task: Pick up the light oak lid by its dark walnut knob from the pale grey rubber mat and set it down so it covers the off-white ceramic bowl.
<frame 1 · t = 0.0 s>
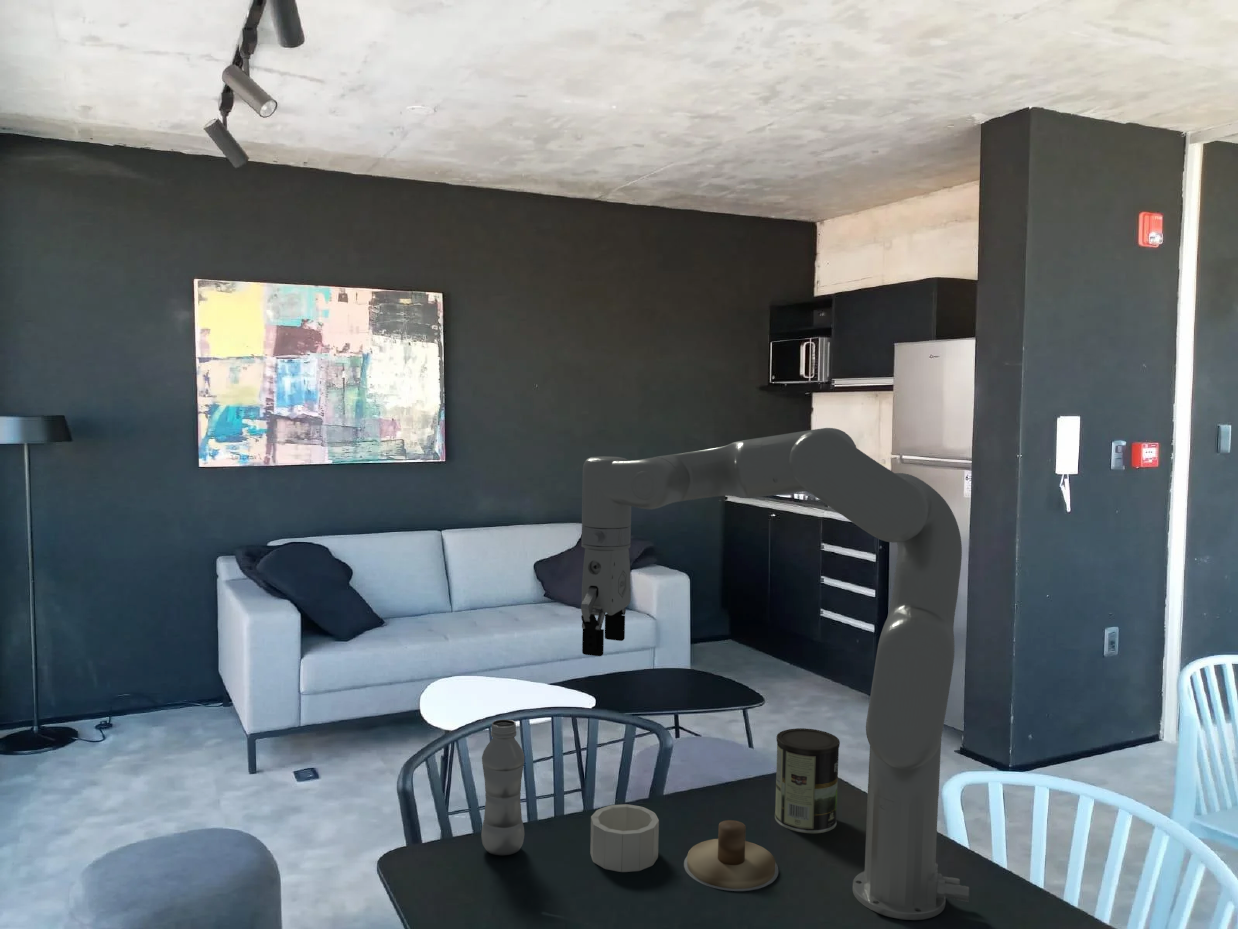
hand: (604, 647, 148), 31 cm above the table, tool pointing down, fingers open, 9 cm apart
lid: (730, 866, 143), resting on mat
plastic bottle: (502, 852, 147), on the table
coffee can: (805, 822, 159), on the table
bowl: (624, 857, 146), on the table
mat: (730, 868, 143), on the table
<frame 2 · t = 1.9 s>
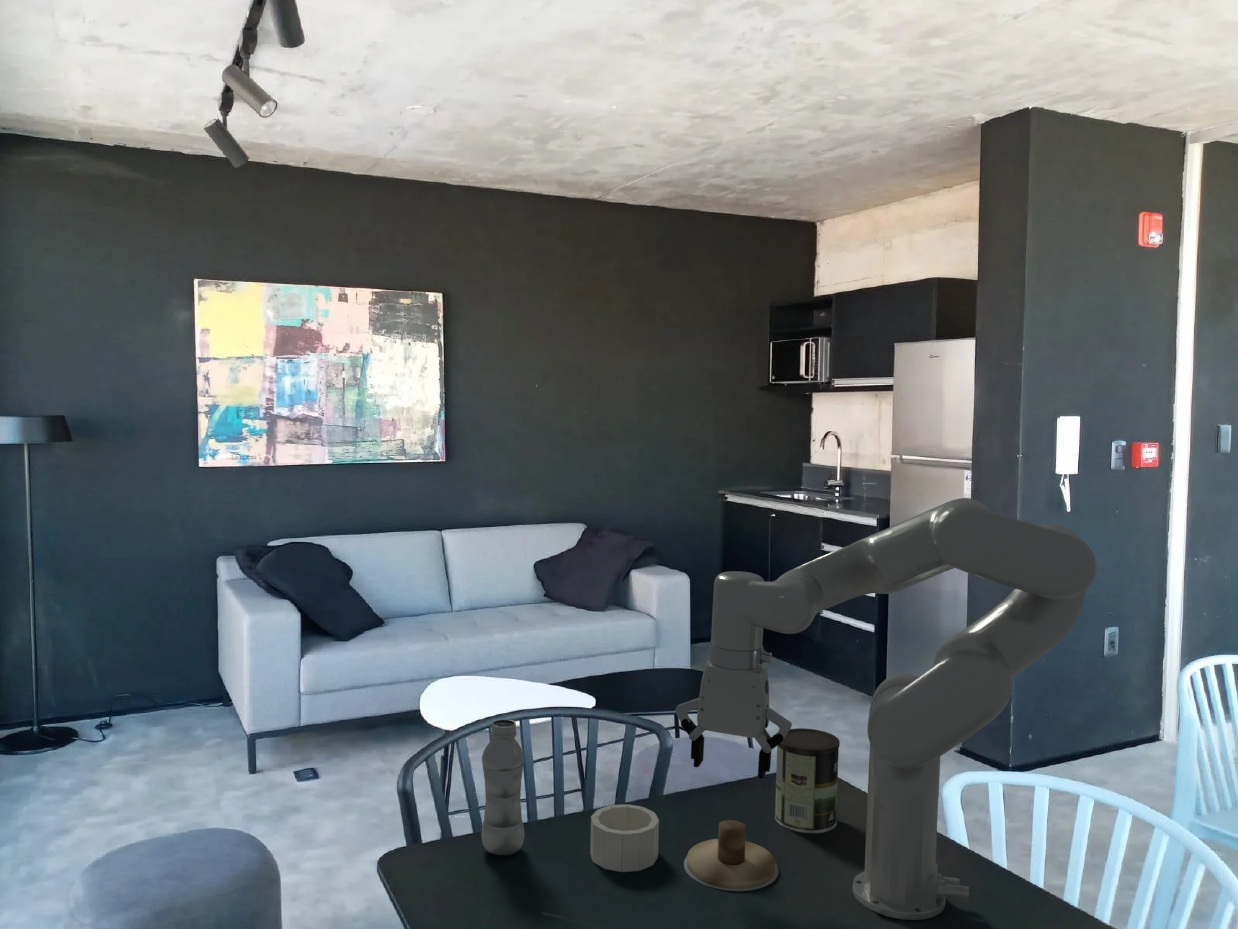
hand: (729, 769, 142), 15 cm above the table, tool pointing down, fingers open, 9 cm apart
nothing on the table moved.
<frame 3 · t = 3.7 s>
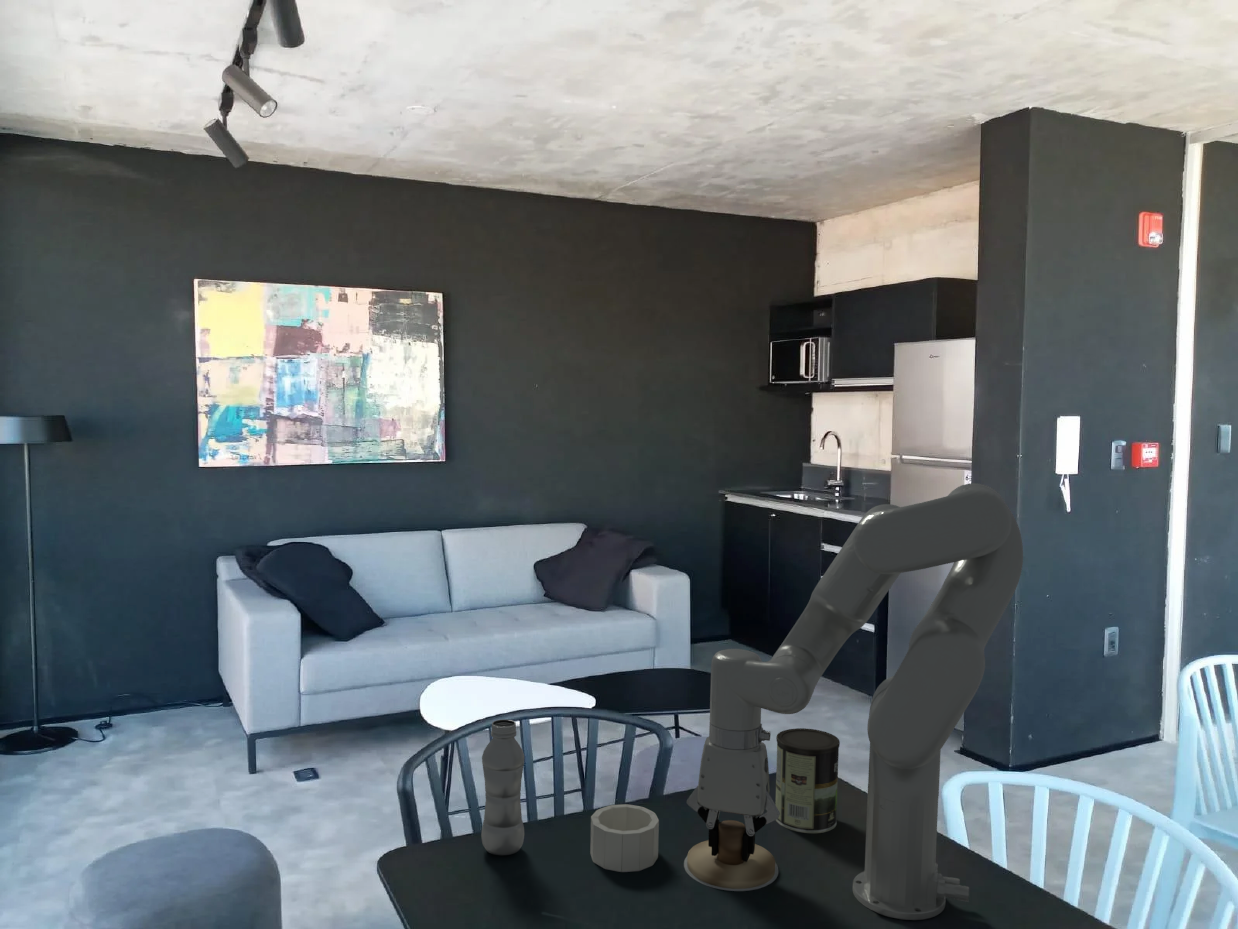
hand: (731, 853, 142), 2 cm above the table, tool pointing down, fingers closed on lid, 4 cm apart
lid: (730, 866, 143), resting on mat, touching gripper
everything else where it was.
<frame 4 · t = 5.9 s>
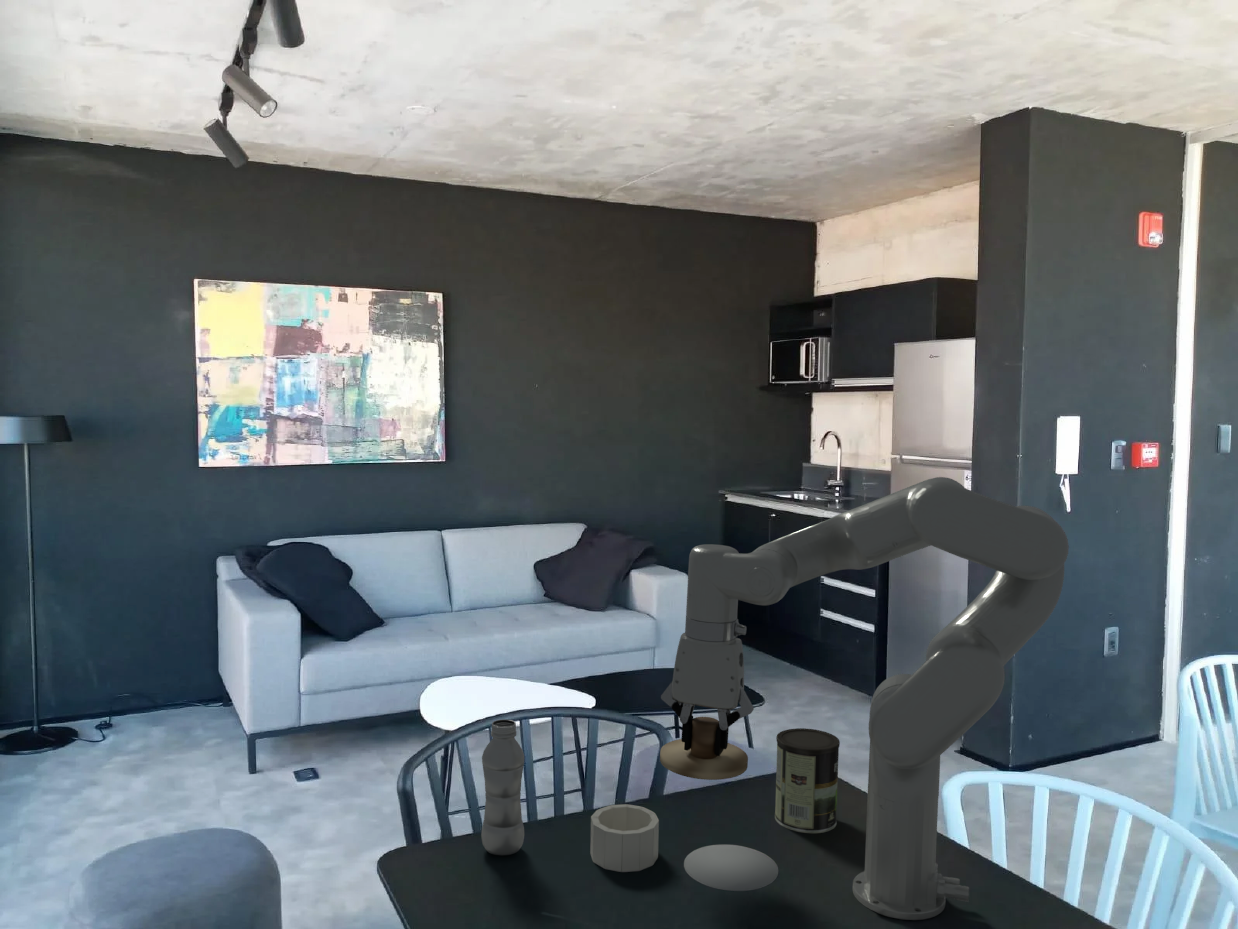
hand: (704, 748, 142), 18 cm above the table, tool pointing down, fingers closed on lid, 4 cm apart
lid: (703, 762, 142), point 16 cm above the table, touching gripper
everything else where it was.
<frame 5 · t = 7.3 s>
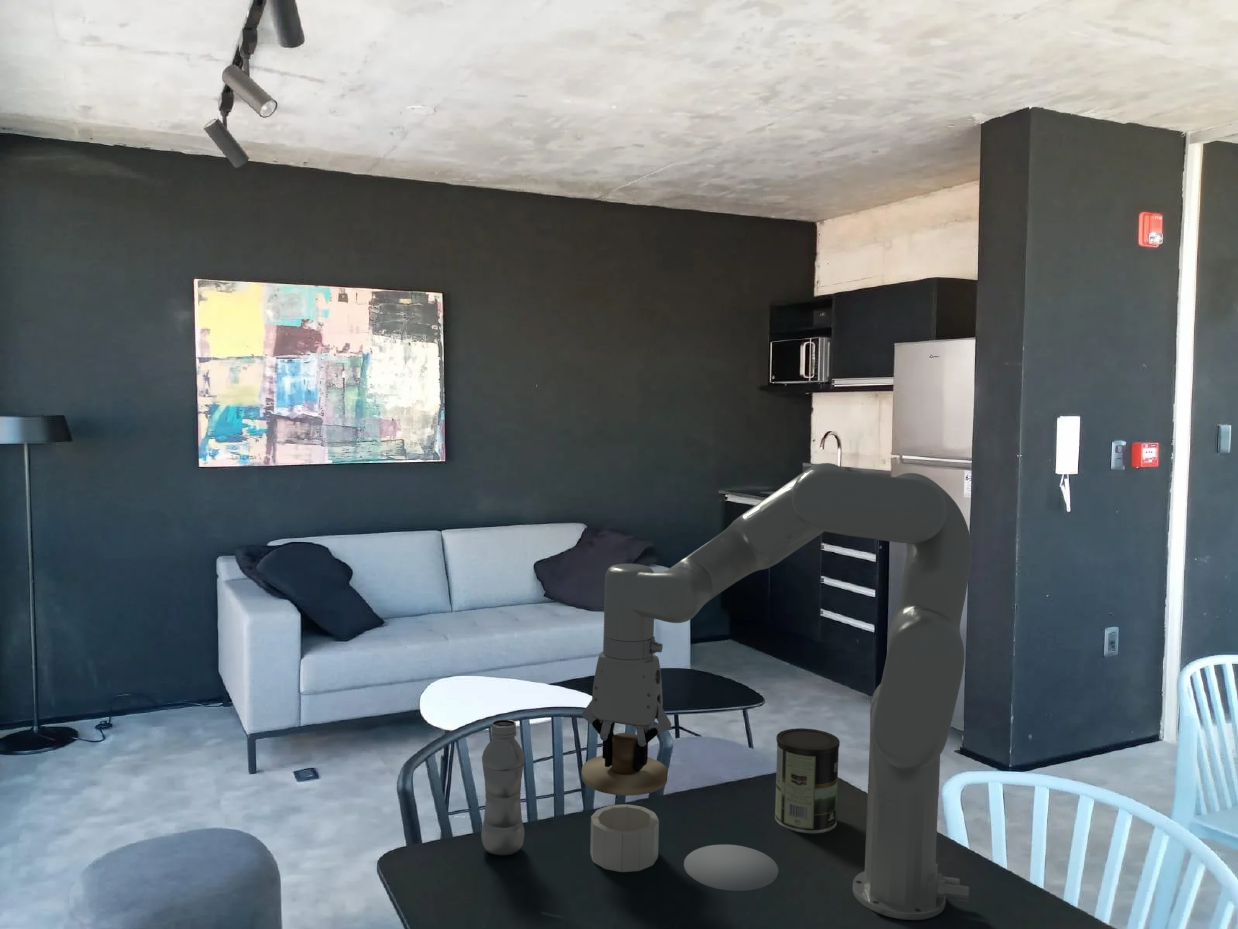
hand: (624, 765, 145), 14 cm above the table, tool pointing down, fingers closed on lid, 4 cm apart
lid: (624, 777, 145), point 12 cm above the table, touching gripper
everything else where it was.
when the fingers open (9 cm above the table, at t = 8.4 s): lid drops 1 cm, resting on bowl.
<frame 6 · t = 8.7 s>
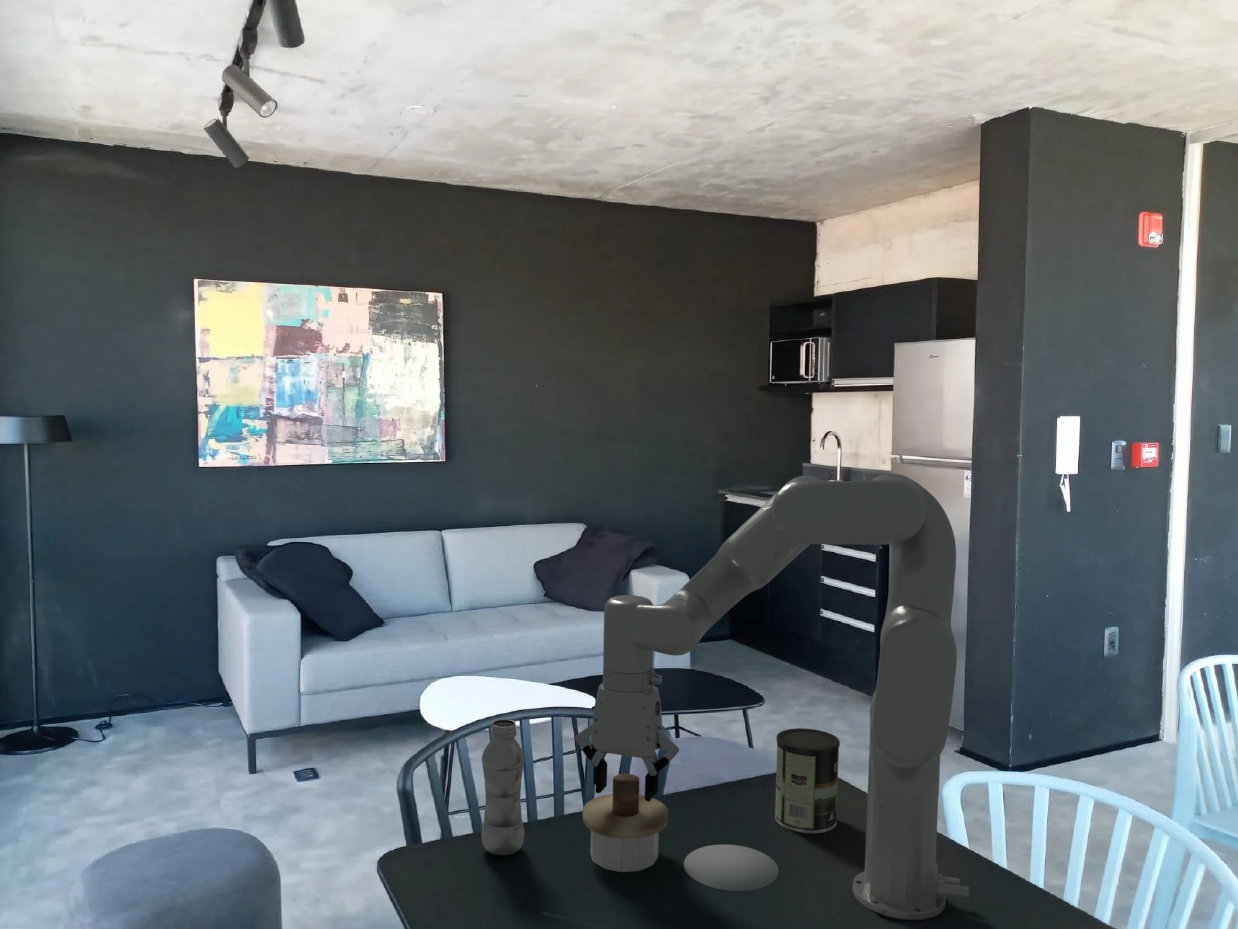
hand: (625, 793, 145), 10 cm above the table, tool pointing down, fingers open, 7 cm apart
lid: (625, 818, 145), point 6 cm above the table, touching bowl
everything else where it was.
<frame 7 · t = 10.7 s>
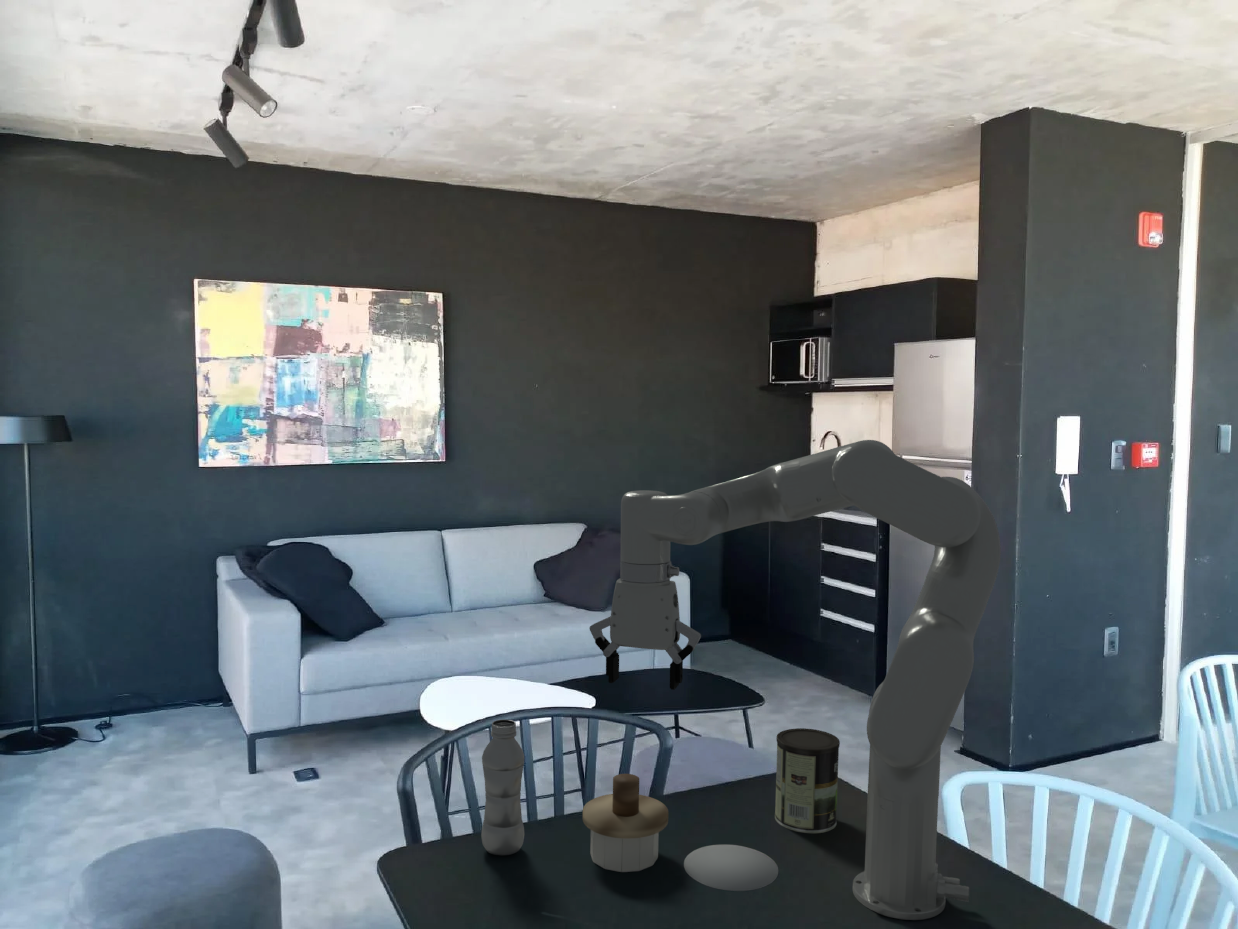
hand: (643, 684, 146), 26 cm above the table, tool pointing down, fingers open, 9 cm apart
nothing on the table moved.
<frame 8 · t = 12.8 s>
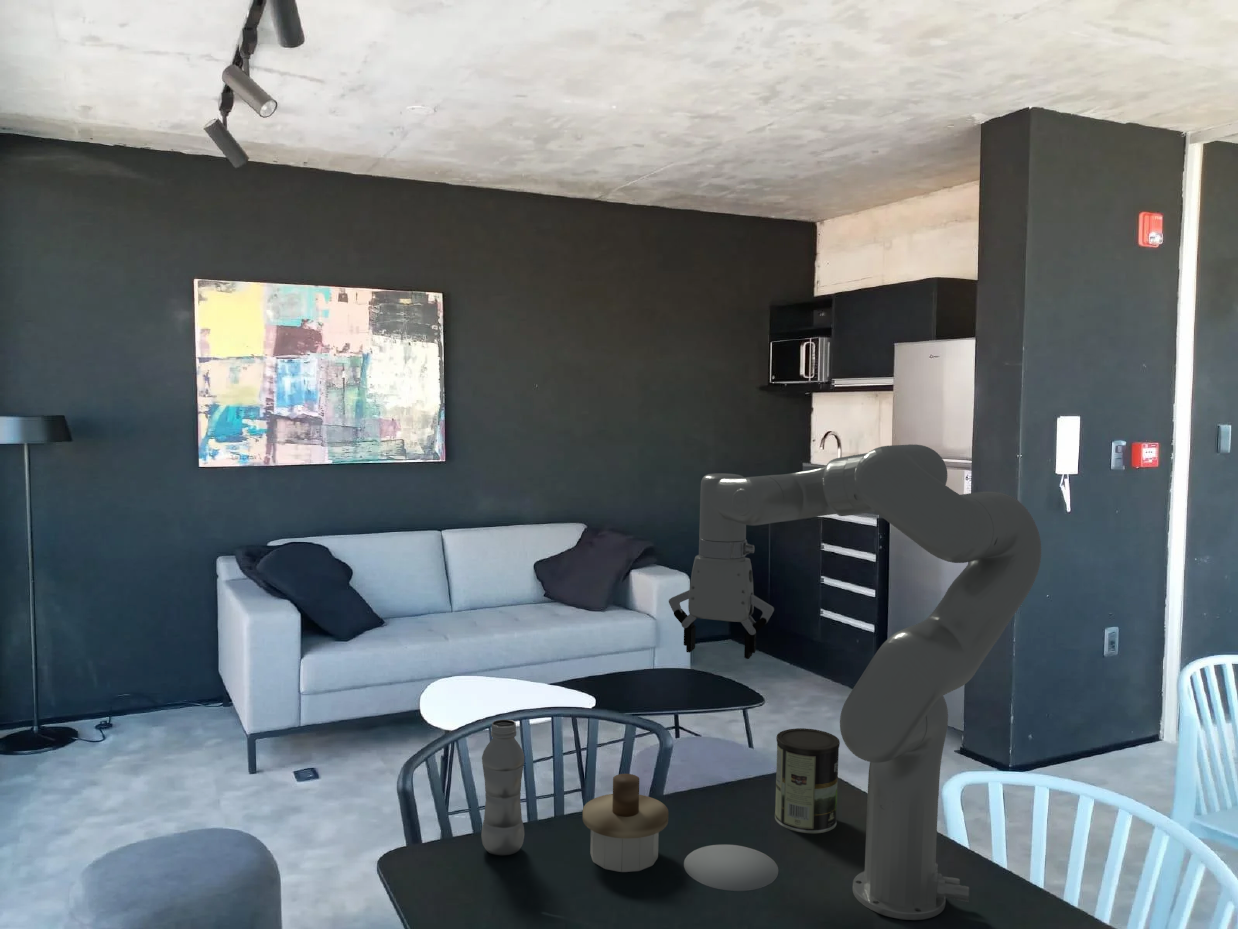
hand: (719, 653, 156), 28 cm above the table, tool pointing down, fingers open, 9 cm apart
nothing on the table moved.
at the end: lid 0.1 cm from the bowl (horizontally); lid point 6.0 cm above the table; lid tilted 0° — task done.
